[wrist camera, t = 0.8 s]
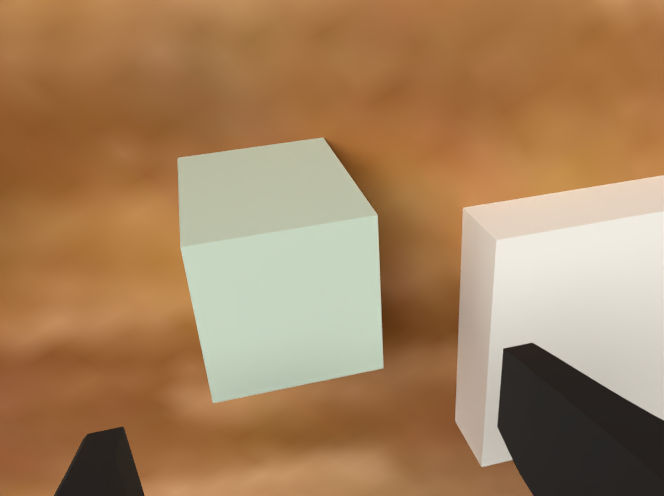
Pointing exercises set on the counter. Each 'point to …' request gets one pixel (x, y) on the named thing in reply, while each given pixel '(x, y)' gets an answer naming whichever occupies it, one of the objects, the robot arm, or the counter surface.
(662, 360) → the white block
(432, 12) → the counter surface
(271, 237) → the sage block
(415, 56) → the counter surface
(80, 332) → the counter surface
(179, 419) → the counter surface
